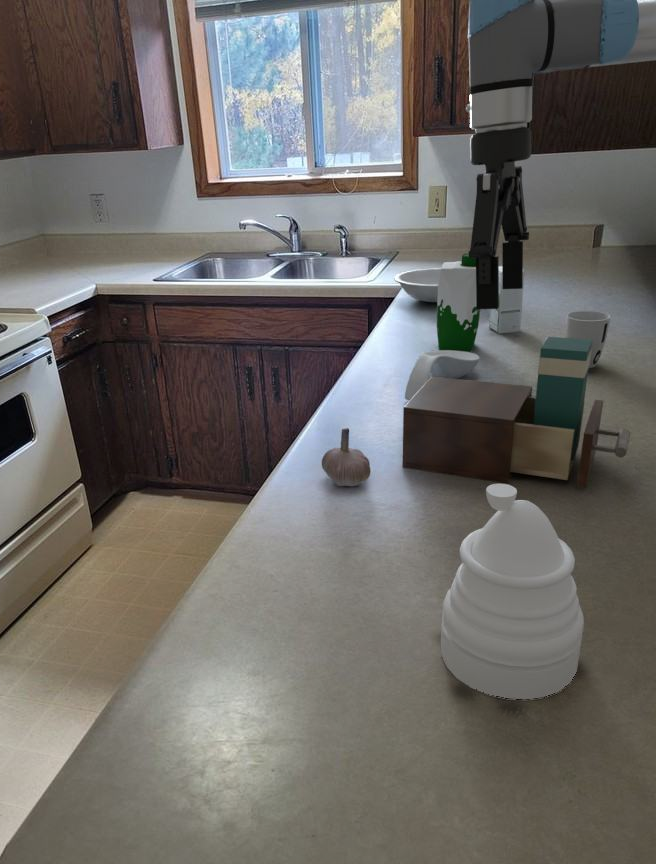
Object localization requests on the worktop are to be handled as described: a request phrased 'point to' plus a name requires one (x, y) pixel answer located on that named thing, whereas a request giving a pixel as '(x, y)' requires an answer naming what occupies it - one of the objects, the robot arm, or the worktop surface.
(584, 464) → the drawer
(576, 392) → the carton
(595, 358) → the cup
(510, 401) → the cabinet
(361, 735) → the worktop surface
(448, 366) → the spoon rest
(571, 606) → the honey pot
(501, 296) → the syrup box
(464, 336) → the milk carton
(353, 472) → the garlic bulb
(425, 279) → the soup bowl
